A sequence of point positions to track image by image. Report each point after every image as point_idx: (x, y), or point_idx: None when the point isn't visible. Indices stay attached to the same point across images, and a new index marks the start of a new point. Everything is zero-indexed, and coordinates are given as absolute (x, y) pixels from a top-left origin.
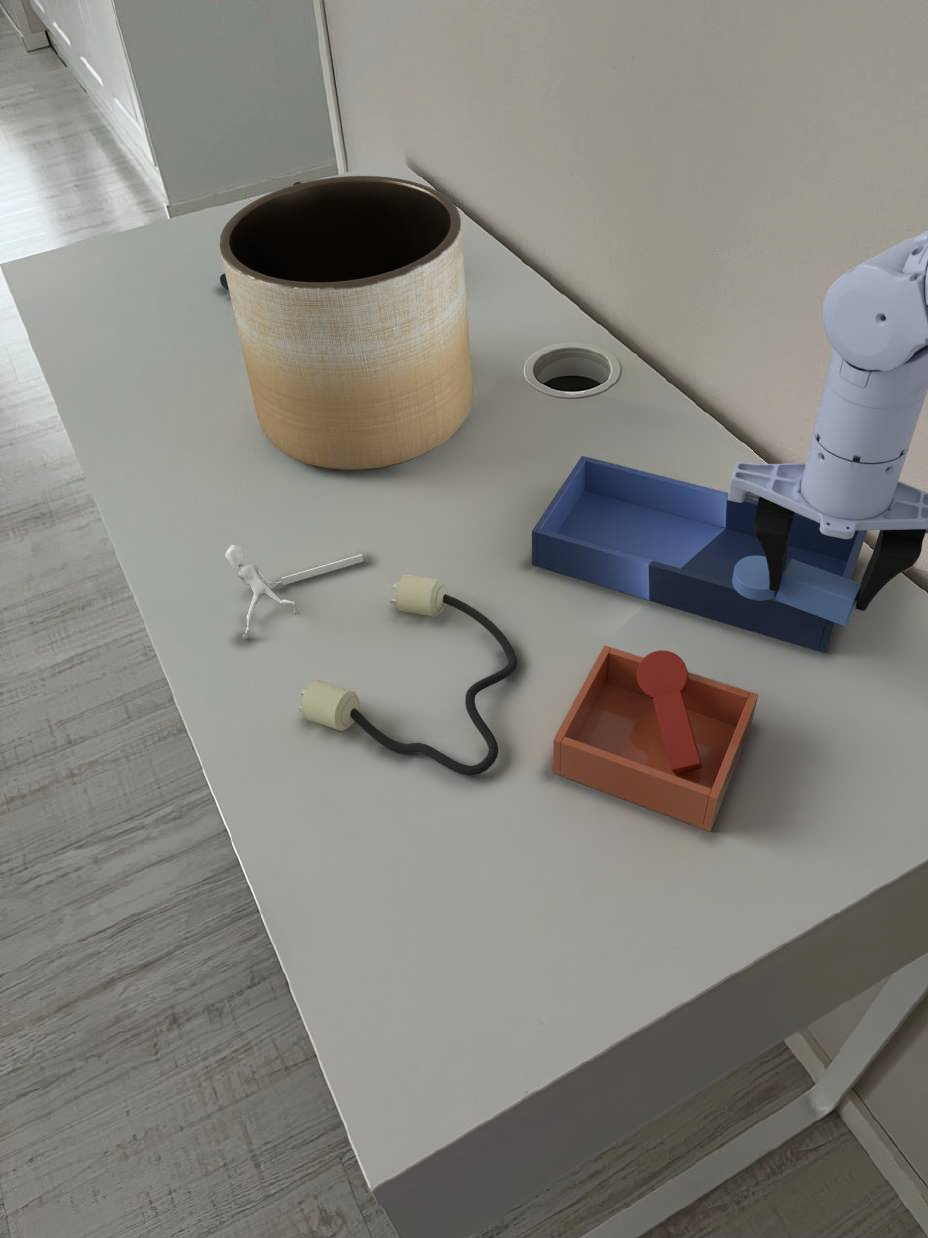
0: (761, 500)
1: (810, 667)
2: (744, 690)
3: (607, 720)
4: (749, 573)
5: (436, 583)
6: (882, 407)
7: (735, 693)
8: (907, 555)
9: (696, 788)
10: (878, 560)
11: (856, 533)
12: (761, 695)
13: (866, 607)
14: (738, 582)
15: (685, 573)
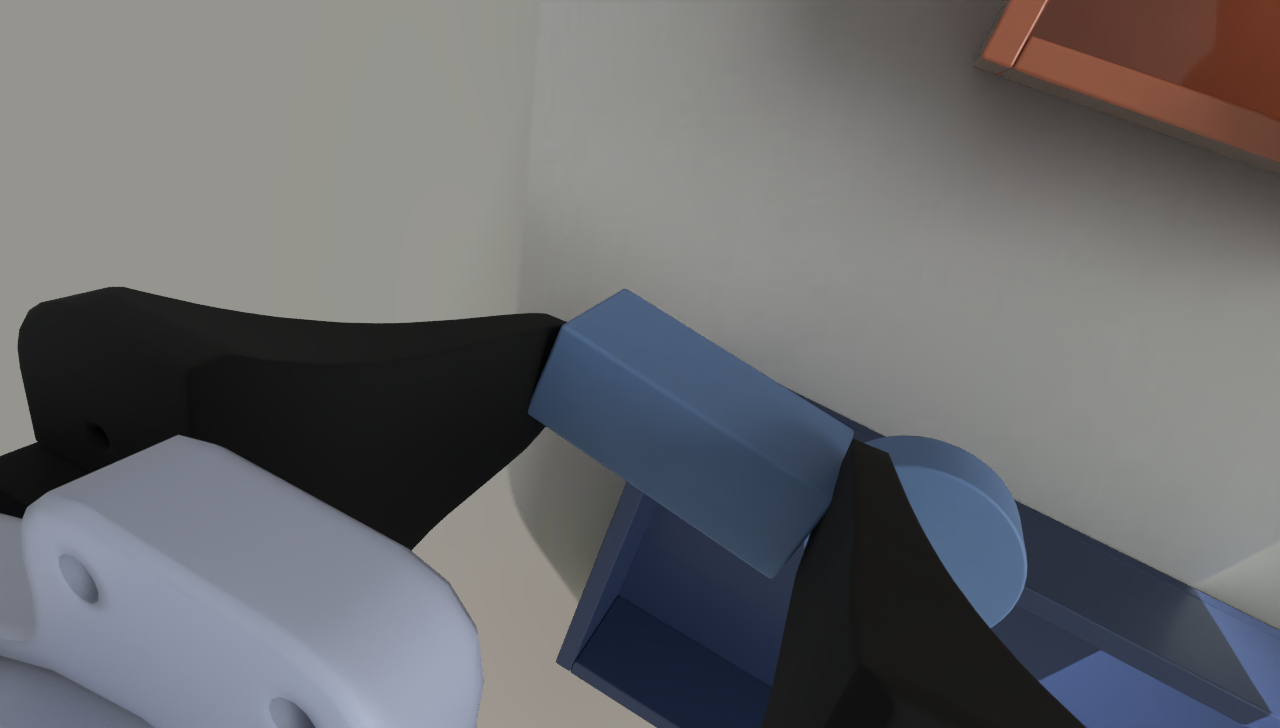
0: None
1: (749, 305)
2: (1037, 71)
3: None
4: (955, 558)
5: None
6: None
7: (1082, 52)
8: (55, 320)
9: None
10: (275, 355)
11: (581, 655)
12: (904, 206)
13: (530, 314)
14: (1017, 523)
15: (1121, 643)
